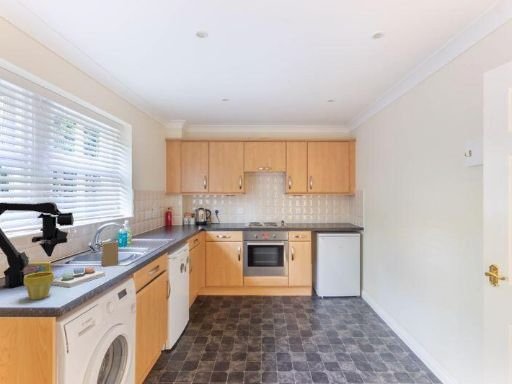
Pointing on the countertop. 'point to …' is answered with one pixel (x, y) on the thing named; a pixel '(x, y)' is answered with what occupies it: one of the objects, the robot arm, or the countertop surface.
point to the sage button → (67, 276)
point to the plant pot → (38, 284)
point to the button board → (78, 279)
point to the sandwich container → (110, 254)
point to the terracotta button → (89, 269)
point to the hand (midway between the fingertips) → (49, 256)
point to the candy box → (37, 267)
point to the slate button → (78, 270)
